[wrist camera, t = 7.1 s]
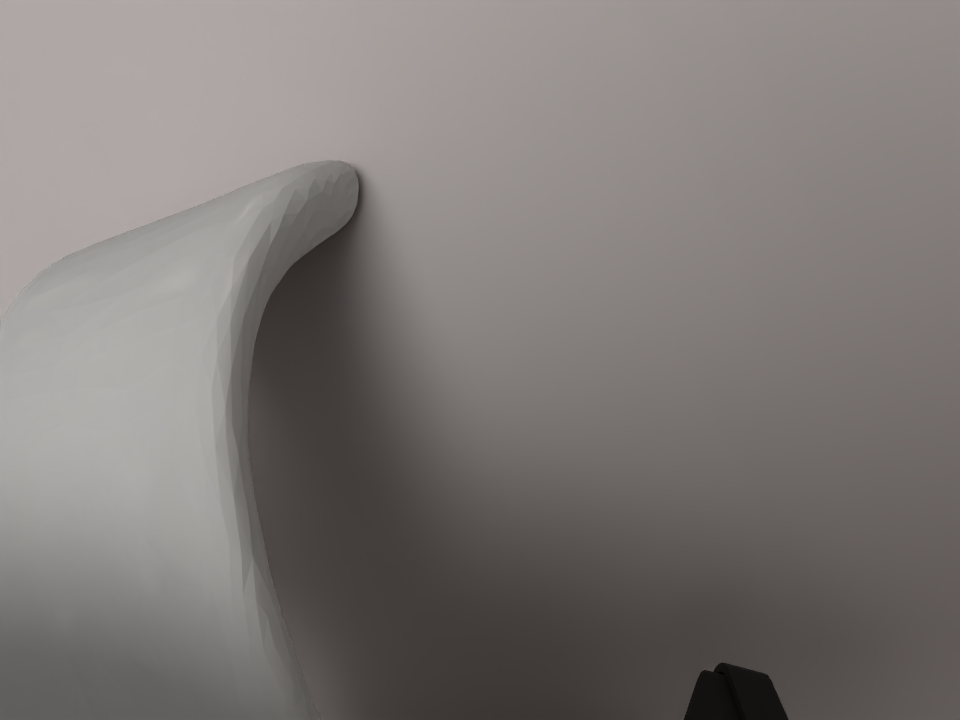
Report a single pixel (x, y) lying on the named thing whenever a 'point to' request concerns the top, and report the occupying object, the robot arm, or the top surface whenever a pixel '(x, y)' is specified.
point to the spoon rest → (149, 467)
